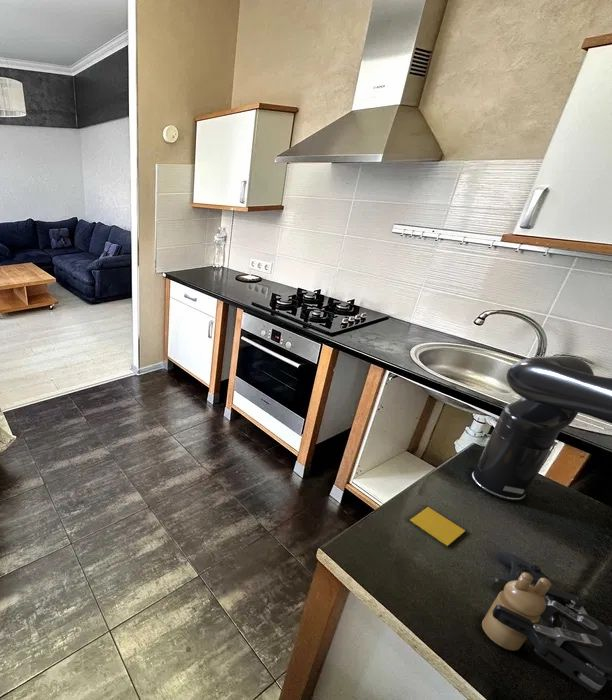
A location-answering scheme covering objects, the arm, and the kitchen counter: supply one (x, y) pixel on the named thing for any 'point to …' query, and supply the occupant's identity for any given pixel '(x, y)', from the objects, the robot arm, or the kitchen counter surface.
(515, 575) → the game controller
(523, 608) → the toy rabbit
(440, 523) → the flat yellow rectangular block
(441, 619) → the kitchen counter surface
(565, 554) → the kitchen counter surface
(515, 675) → the kitchen counter surface
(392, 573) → the kitchen counter surface
